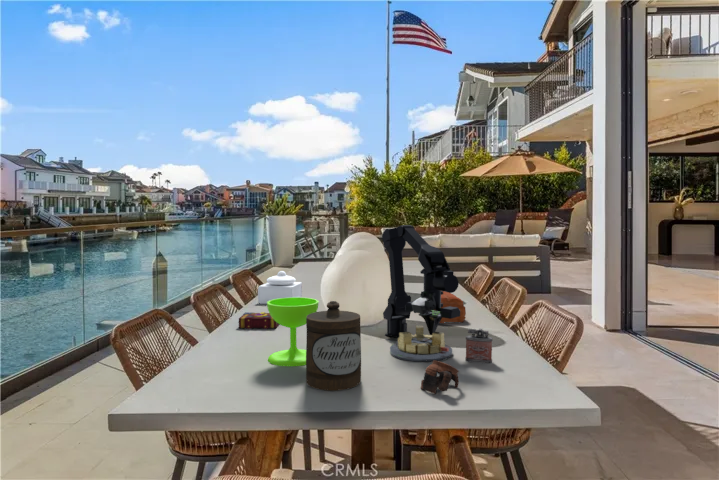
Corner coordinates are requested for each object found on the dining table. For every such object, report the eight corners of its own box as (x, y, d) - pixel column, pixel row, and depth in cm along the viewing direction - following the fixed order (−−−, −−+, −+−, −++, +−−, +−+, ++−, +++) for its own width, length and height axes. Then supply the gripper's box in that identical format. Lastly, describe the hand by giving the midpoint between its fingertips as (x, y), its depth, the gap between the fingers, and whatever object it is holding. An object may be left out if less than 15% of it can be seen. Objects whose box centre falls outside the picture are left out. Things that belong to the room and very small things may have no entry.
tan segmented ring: (389, 349, 166) (389, 332, 165) (410, 339, 178) (410, 323, 178) (438, 357, 157) (438, 339, 156) (456, 346, 169) (456, 329, 169)
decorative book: (276, 329, 203) (276, 316, 202) (235, 329, 203) (235, 316, 203) (281, 323, 214) (281, 311, 214) (242, 323, 214) (242, 311, 214)
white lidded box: (258, 304, 257) (257, 272, 256) (270, 298, 275) (270, 268, 274) (292, 305, 254) (292, 272, 253) (302, 298, 272) (302, 268, 271)
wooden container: (316, 394, 130) (316, 308, 129) (299, 377, 144) (298, 298, 143) (370, 386, 136) (370, 303, 135) (348, 370, 150) (348, 295, 149)
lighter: (492, 361, 159) (493, 328, 159) (491, 364, 156) (492, 331, 155) (466, 358, 162) (466, 327, 161) (464, 361, 159) (465, 329, 158)
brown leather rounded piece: (413, 386, 138) (424, 357, 140) (444, 400, 139) (454, 371, 141) (428, 389, 126) (440, 358, 129) (462, 405, 127) (473, 373, 130)
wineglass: (277, 369, 151) (276, 308, 150) (261, 355, 165) (260, 299, 164) (327, 361, 158) (327, 303, 157) (307, 349, 172) (307, 295, 171)
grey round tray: (378, 355, 165) (378, 342, 165) (407, 342, 182) (407, 330, 182) (437, 365, 154) (437, 351, 154) (461, 350, 171) (461, 337, 171)
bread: (450, 310, 240) (450, 288, 239) (468, 323, 213) (468, 297, 213) (417, 311, 239) (417, 288, 238) (431, 324, 212) (431, 298, 211)
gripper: (394, 288, 172) (394, 334, 173) (441, 294, 159) (440, 344, 160) (415, 284, 180) (415, 328, 181) (461, 290, 167) (460, 338, 168)
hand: (431, 335), depth 172 cm, fingers closed
